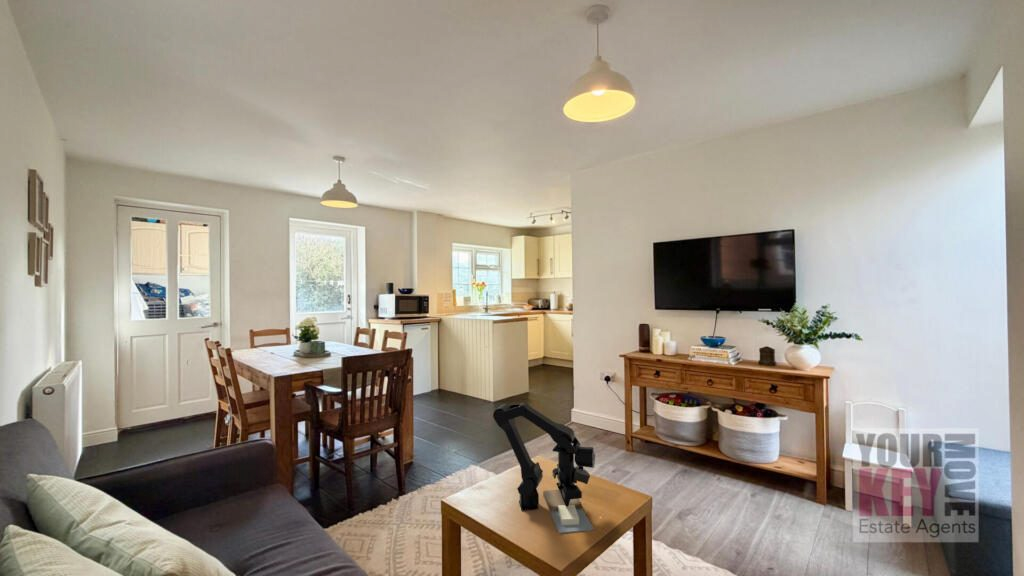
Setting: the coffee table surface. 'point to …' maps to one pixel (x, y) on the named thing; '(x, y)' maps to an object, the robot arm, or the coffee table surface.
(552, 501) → the plate
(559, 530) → the mat
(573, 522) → the tile
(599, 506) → the coffee table surface
